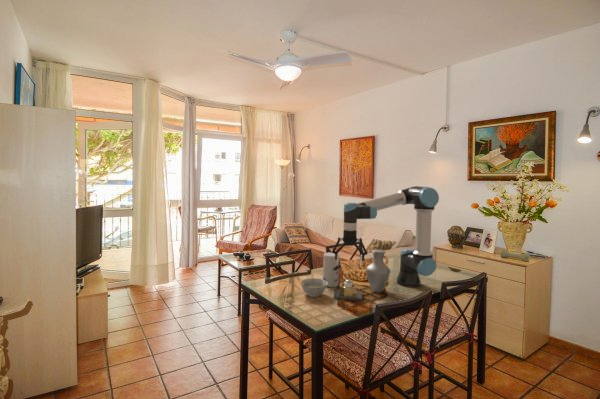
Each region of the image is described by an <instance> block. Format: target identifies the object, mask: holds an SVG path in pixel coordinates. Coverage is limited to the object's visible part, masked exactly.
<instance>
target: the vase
mask: <svg viewBox="0 0 600 399" xmlns="http://www.w3.org/2000/svg"><path fill="white" fill-rule="evenodd" d="M371 252H372V255H373V260H372V262H371V263H370V264H368V265H367V266H366V268H365V273H366V276H367V281H368V284H369V286H370V289H371V291H372V292H374V293H382V292H383V291H384V289H385V288H386V285H387V282H388V280H389V277H390V273H391V270H390V268H389V267H388V266H387V265H386V264H385V262H384V256H385V254H386V250H384V249H376V248H375V249H372V250H371Z"/></svg>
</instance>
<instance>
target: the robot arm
mask: <svg viewBox="0 0 600 399" xmlns="http://www.w3.org/2000/svg"><path fill="white" fill-rule="evenodd" d="M439 200H440V196H439V193H438V191H437V190H436V189H435V188H433V187H429V186H417V185H416V186H410V187H408V188H405V189H401V190H398V191H397V192H396V193H392V194H390V195H384V196H380V197H377V198H373V199H370V200H366V201H363V202H359V203H357V202H345V203H344V205H343V230H342V231H343V233H342V234H343V236H342V237H340V236H338V237H337V241H336V243H335V245H334V246H333V248H332V251H331V253H334V254H335V260H337V266H338V254H339V253H340V252H341V250H342V249H343V248H344V247H345V246H347V247H349V246H350V247H352V246H354V247H355V248H356V249H357V251H358V252H359V253H360V264H359V265H360V268H362V267H363V262H364V261H365V255H368V251H367V250H366V248H365V245H364V243H363V239H362V237H358V238H357V233H358V231H357V229H358V228H357V225H358V224H357V223H358V220H373V219H376V218H377V217H378V216H377V215H378V211H381V210H385V209H389V208H392V207H395V206H400V205H401V206H406V205H414V207H413V210H415V211H416V219H415V220H416V224H415V226H416V227H415V248H403V249H401V251H400V260H399V261H400V262H399V273H398V275H397V278H396V284H398V285H400V286H402V287H406V288H407V287H408V288H418V287H420V286H421V283H422V282H421V278H420V277H421V276H424V277H429V276H431V275H433V273H435V271H436V270H437V262H436V260H435V259H434V258H433V256H434V253H433V252H432V251H431V245H432V244H431V242H432V239H431V238H432V213H433V211H435V208H436V206H437V204H438V203H439V202H440V201H439ZM341 241H343V243H342V244H341V245H340V243H341ZM357 242H359V243H360V246H361V248H362V249H361V248H360V246H359V245H358V244H357ZM339 245H340V246H339ZM338 246H339V247H338ZM336 249H337V250H336Z"/></svg>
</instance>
